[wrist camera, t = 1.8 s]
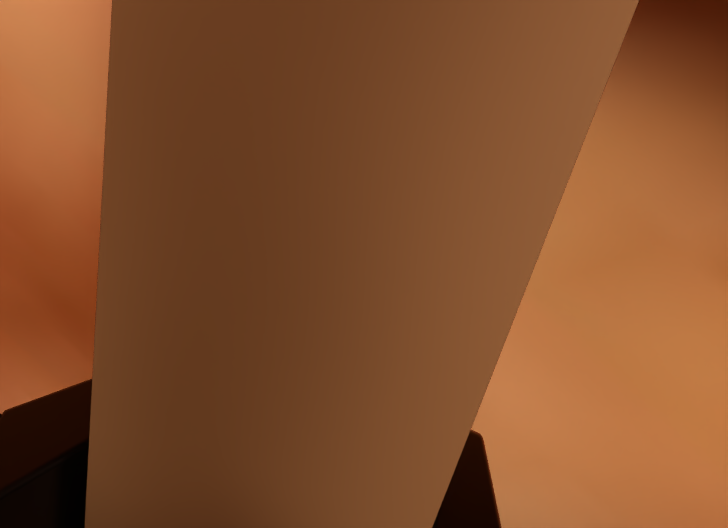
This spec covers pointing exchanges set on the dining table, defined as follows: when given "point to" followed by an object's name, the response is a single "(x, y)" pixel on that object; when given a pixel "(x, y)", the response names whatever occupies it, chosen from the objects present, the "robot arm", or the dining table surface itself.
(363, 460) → the walnut bar
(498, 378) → the dining table surface
